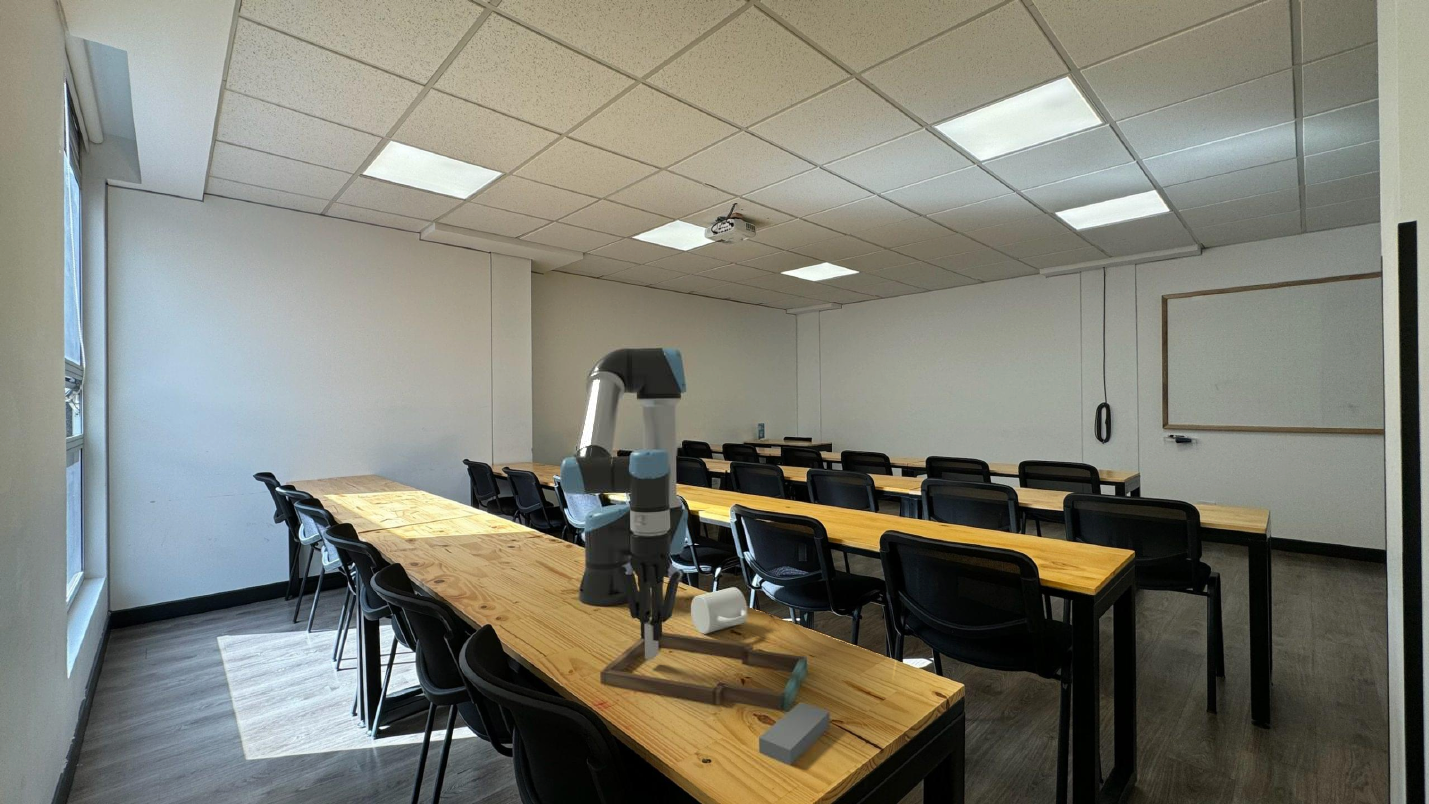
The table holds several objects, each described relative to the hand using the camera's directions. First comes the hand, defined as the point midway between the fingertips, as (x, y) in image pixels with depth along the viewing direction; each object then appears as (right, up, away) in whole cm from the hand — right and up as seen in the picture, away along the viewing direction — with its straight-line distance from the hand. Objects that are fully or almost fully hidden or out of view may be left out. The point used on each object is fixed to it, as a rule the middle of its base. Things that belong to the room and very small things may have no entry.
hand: (651, 656), depth 109 cm
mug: (+14, -2, +17) cm, 22 cm away
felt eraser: (+24, -2, -25) cm, 34 cm away
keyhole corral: (+11, -2, -4) cm, 11 cm away
